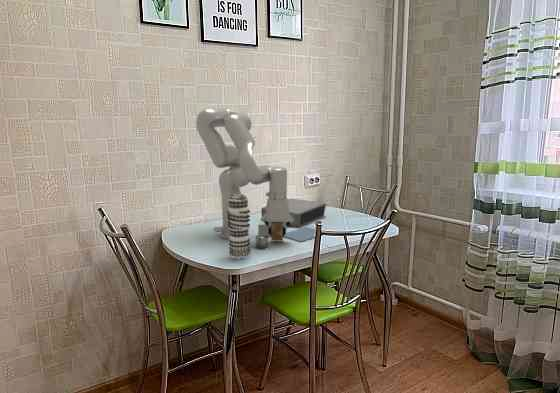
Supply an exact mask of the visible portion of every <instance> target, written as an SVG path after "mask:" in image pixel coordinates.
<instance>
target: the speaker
mask: <svg viewBox="0 0 560 393" xmlns="http://www.w3.org/2000/svg"><path fill="white" fill-rule="evenodd" d="M287 199H288V202H289V214H290V215H291V216H292V217H293V219H294V222H292V223H291V224H290V225H289V226H288V227H294V228H296V229H297V228H298V229H301V228H303V227H305V226H307V225H310V224H312V223H313V222H316V221H318V220H321V219H324V215H325V211H326V207H327V203H326V202H321V201H314V200H306V199H300V198H287ZM260 213H261V218H262V217H263V216H264V214H265V213H266V206H262V207H261V211H260ZM265 220H266V218H265ZM289 220H290V219H289ZM289 220H288V221H289ZM311 222H312V223H311ZM286 223H287V222H286ZM304 225H305V226H304Z"/></svg>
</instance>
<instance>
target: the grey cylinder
mask: <svg viewBox="0 0 560 393" xmlns="http://www.w3.org/2000/svg"><path fill="white" fill-rule="evenodd" d="M268 239H269V237H268V236H267V235H258V234H257V235H256V236H255V248H256V249H257V250H267V249H268V248H269V242H268V241H269V240H268ZM266 248H267V249H266Z"/></svg>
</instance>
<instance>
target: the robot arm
mask: <svg viewBox="0 0 560 393" xmlns="http://www.w3.org/2000/svg"><path fill="white" fill-rule="evenodd" d="M195 121H196V122H195V123H196V124H195V126H196V131H197V132H198V134H199V137H200V138H201V140H202V142H203V143H204V146H205V148H206V151H207V153H208V155H209V157H210V159H211V161H212V163H213V165H214V166H215V167H216V168H217V169H223V168H227V169H225V170H223V171H222V172H220V174H219V177H218V183H219V184H218V185H219V190H220V195H221V196H220V197H221V210H222V211H221V212H222V214H221V215H222V225H221V226H213V231H214V232H215V233H219V237H220V238H222V239H225V240H226V239H227V240H229V239H230V229H229V226H228V224H229V223H228V220H229V219H228V217H227V216H228V214H227V211H229V208H228V207H229V200H228V199H229V198H230V196H231V195H234V194H242V192H241V189H240V188H243V187H245V186H247V185H249V183H251V184H252V185H256V186H257V185H261V184H263V183H269V185H268V186H269V188H268V190H269V191H268V192H265V196H266V197H267V200H266V205H265V207H266V213H265V214H264V216H263V217H262V216H261V218H260V221H263V222H264V223H265V224H266V225H267V226H268V228H269V234H270V236H271V222H283V238H285V237H284V234H285V235H286V233H287V227H290V226H289V225H290V224H291V223H292V222H294V219H293V217H292V216H291V215H290V214H289V202H288V199H289V198H287V196H288V195H287V191H288V190H287V187H288V184H287V183H288V170H287V168H286V167H282V166H272V165H268V164H263V165H257V163H256V162H255V160H254V157H253V148H254V146H255V145H256V141H255V139H254V137H253V136H252V134H251V132H250V130H251V129H252V120H251V118H250V116H248V115H247V114H245V113H242V112H238V111H235V110H232V109H228V108H225V107H223V108H222V107H217V108H216V107H210V108H205V109H202V110H201V111H200V112H199V113H198V114H197V117H196V119H195ZM218 127H219V128H221V127H222V128H223V127H224V128H225V130H226V131H227V134H228V136H229V137H230V139H231V140H232V142H233V144H234V145H226V144H225V141H224V139H223V137H222V135H221V134H220V133H219V132H218V131H217V130H216V128H218ZM229 217H230V216H229ZM265 218H266V220H265ZM289 219H290V220H289ZM288 220H289V221H288ZM286 222H287V223H286Z"/></svg>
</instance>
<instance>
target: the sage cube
mask: <svg viewBox="0 0 560 393" xmlns="http://www.w3.org/2000/svg"><path fill="white" fill-rule="evenodd" d="M257 226H258V228H257V229H258V234H257V235H267V236H268V238H271V236H270V234H269V228H268V226H267V225H266V224H265V223H264V222H263V221H261V220H260V221H259V222H258V224H257Z"/></svg>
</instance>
